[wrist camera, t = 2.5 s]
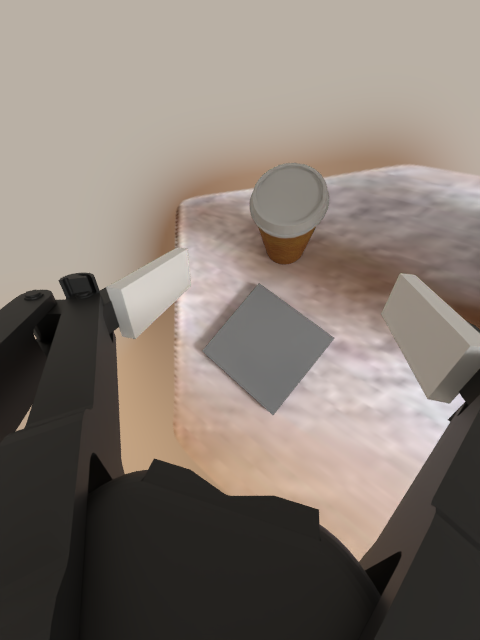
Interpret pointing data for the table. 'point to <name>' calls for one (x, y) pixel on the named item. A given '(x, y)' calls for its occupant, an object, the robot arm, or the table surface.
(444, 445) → the robot arm
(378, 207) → the table surface
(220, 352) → the slate tile
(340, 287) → the table surface
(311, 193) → the disposable coffee cup
